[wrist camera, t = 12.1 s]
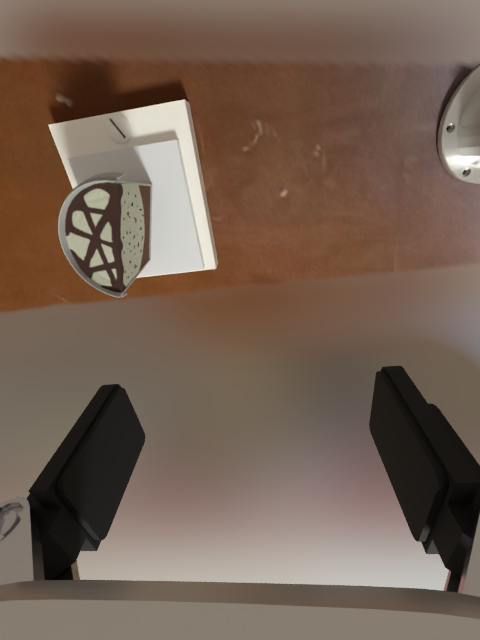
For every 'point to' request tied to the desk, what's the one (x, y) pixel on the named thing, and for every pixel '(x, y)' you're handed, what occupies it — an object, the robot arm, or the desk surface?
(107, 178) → the food container
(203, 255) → the scale
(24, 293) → the desk surface
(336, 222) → the desk surface
